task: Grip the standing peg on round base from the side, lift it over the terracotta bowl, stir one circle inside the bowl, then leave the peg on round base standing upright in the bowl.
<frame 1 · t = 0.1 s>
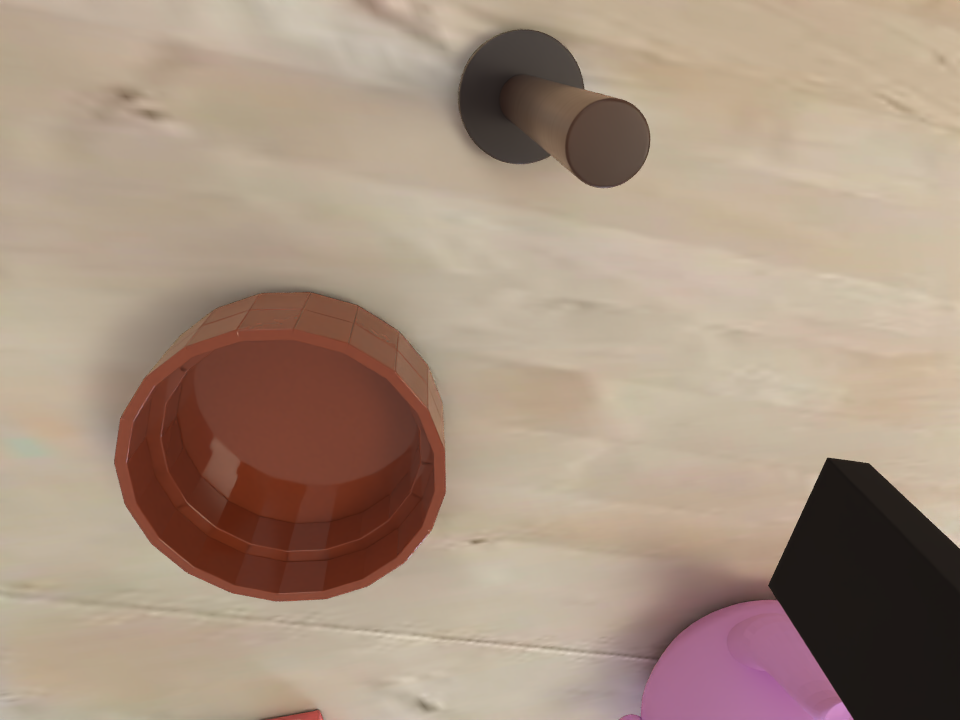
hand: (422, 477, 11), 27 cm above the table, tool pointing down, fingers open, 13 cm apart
peg on round base: (519, 97, 34), on the table
bowl: (303, 419, 40), on the table
teapot: (739, 641, 51), on the table
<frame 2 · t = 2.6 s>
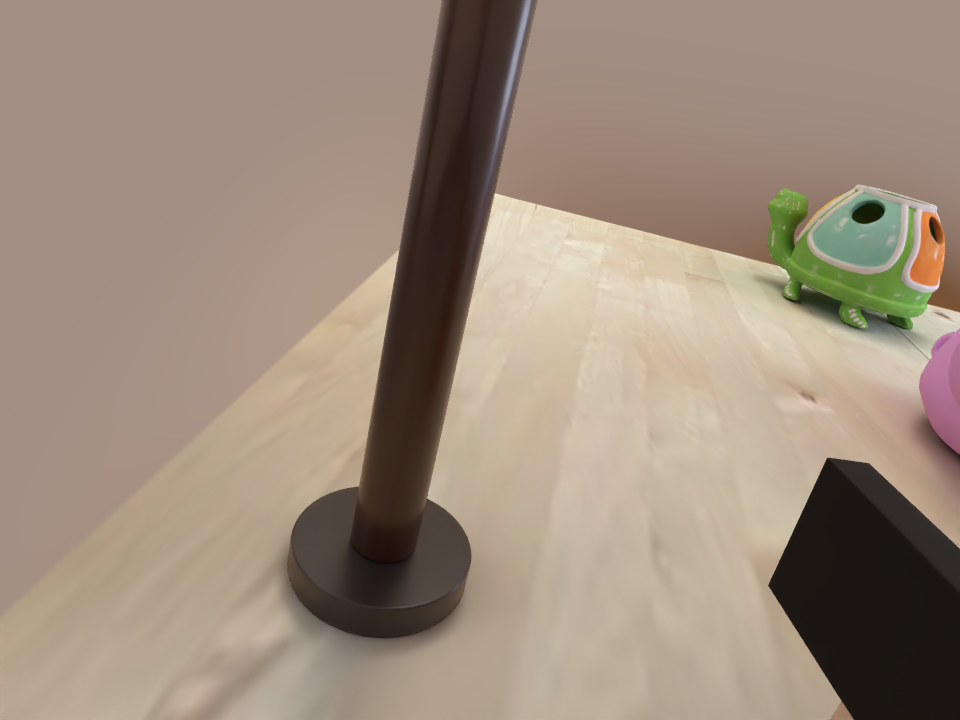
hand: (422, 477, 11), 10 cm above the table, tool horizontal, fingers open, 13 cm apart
peg on round base: (378, 567, 23), on the table
turtle holder: (827, 305, 71), on the table
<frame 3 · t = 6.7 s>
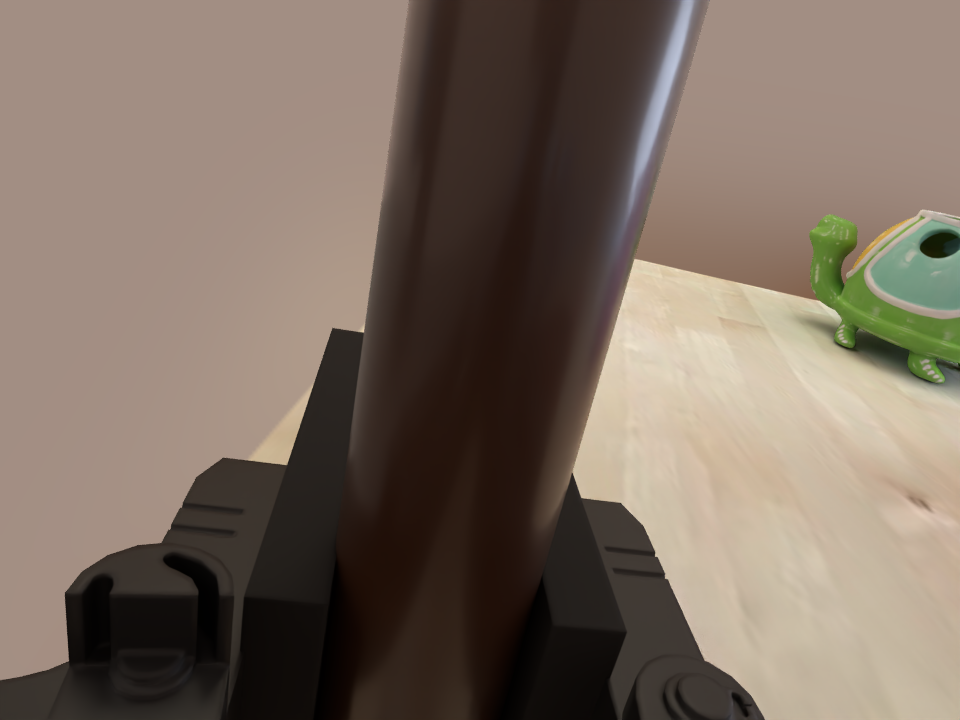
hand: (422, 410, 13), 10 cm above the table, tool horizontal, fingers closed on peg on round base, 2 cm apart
turtle holder: (885, 351, 60), on the table
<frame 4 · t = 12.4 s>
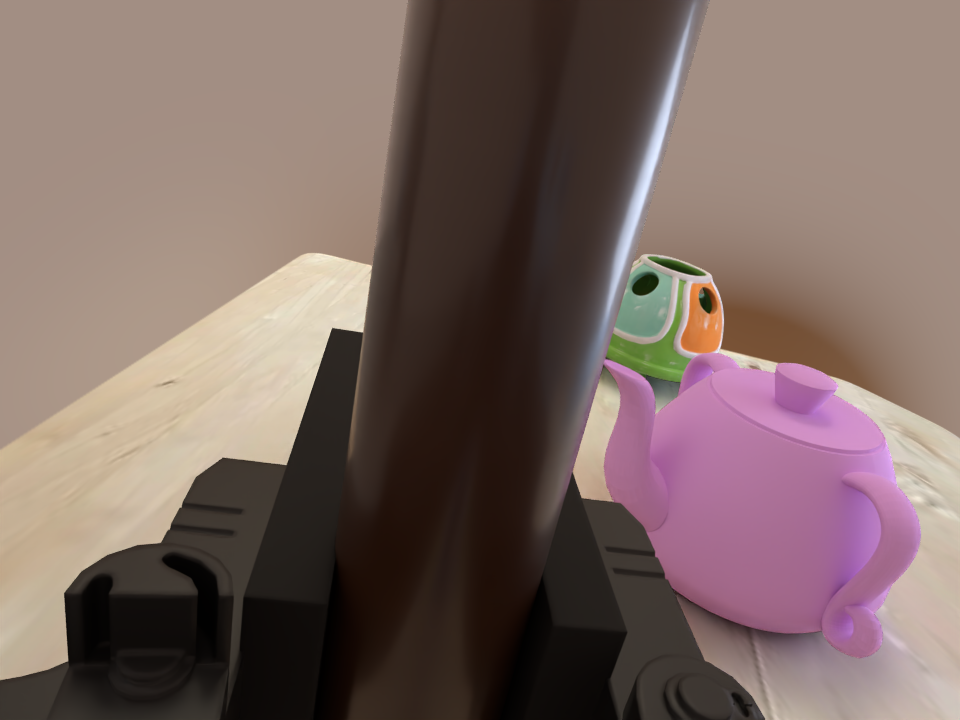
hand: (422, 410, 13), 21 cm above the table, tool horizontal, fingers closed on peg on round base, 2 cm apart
teapot: (697, 561, 45), on the table
turtle holder: (629, 367, 74), on the table
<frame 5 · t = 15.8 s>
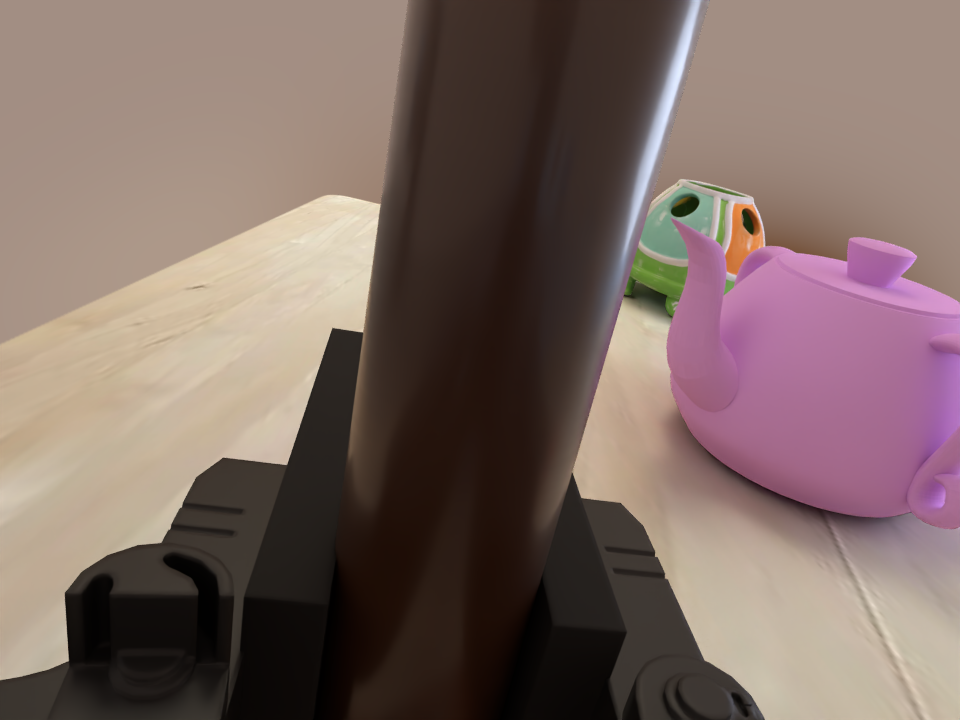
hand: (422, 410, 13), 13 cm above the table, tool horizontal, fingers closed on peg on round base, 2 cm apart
teapot: (760, 457, 43), on the table
turtle holder: (664, 300, 72), on the table
when the fingers open (11 cm above the table, at t = 18.1 s): peg on round base stays where it is, resting on bowl.
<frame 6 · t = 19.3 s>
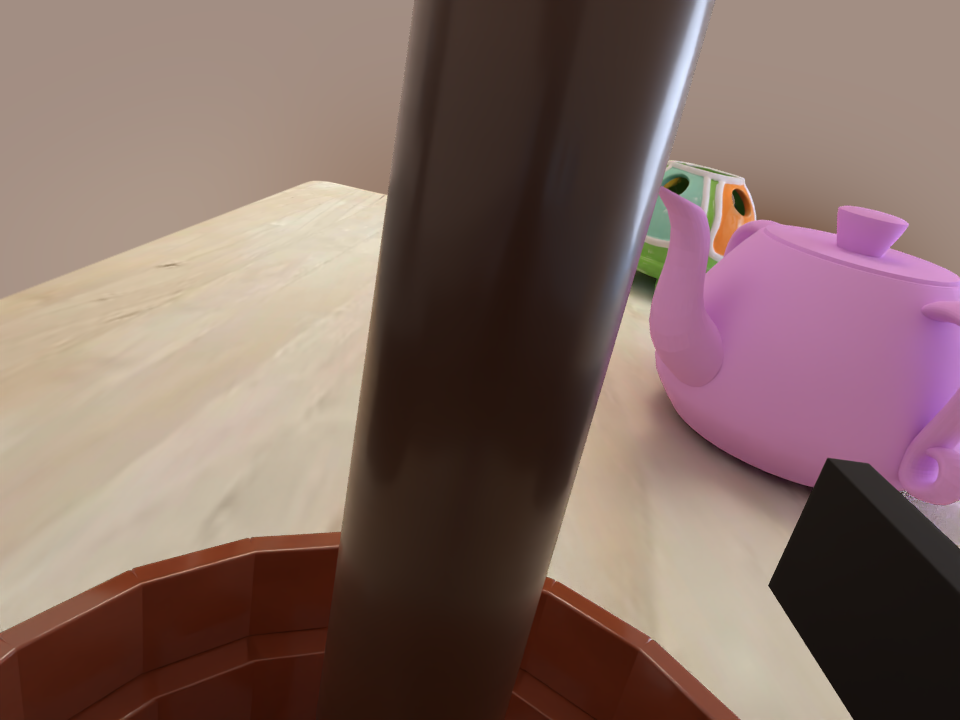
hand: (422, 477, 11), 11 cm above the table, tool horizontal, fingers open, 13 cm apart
teapot: (748, 436, 41), on the table
turtle holder: (655, 284, 70), on the table
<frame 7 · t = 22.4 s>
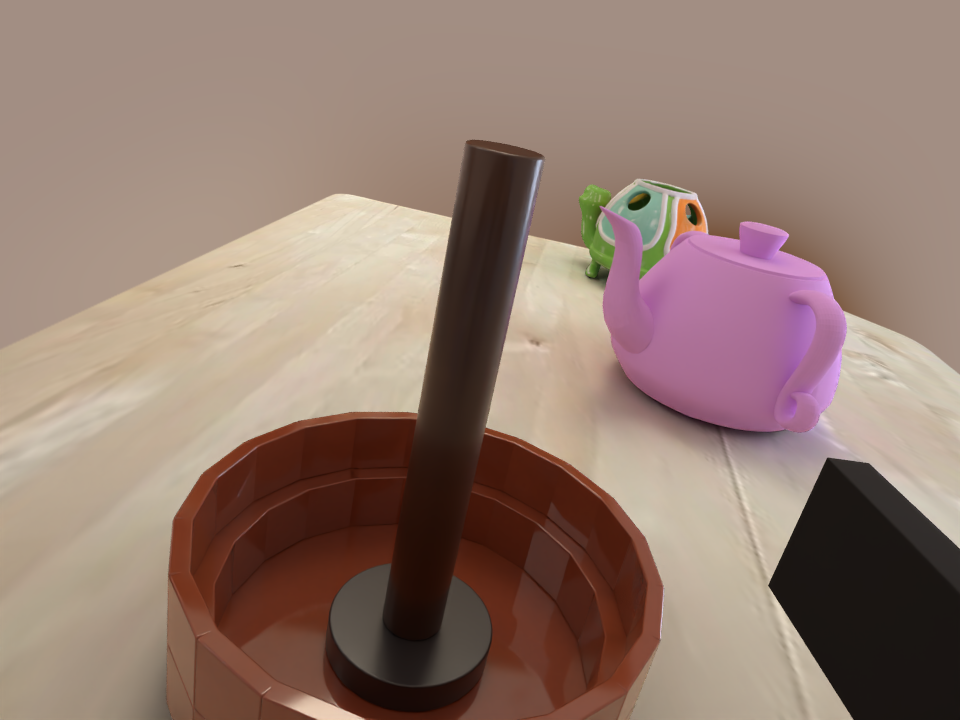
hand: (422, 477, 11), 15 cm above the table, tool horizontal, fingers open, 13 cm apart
peg on round base: (407, 642, 26), point 1 cm above the table, touching bowl
bowl: (403, 656, 26), on the table
teapot: (680, 393, 55), on the table
turtle holder: (626, 282, 84), on the table
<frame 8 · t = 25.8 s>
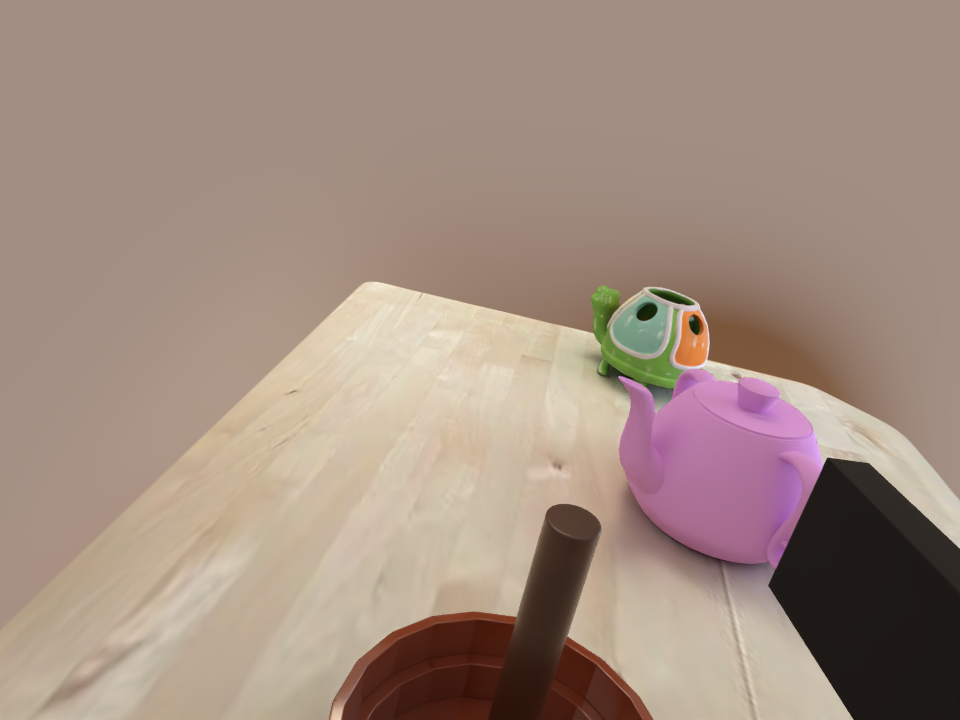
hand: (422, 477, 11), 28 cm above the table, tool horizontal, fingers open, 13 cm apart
teapot: (685, 518, 63), on the table
turtle holder: (634, 376, 92), on the table
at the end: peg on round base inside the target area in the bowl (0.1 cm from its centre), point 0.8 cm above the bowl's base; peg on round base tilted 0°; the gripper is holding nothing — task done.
